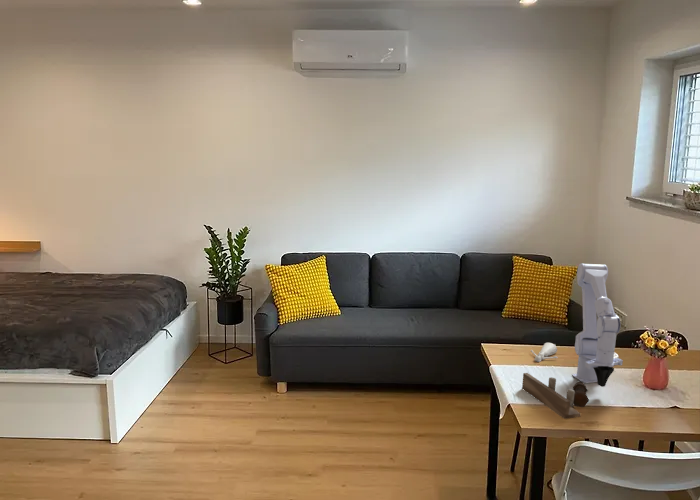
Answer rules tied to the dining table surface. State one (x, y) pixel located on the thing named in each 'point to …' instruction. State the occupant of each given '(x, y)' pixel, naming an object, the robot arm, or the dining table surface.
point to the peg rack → (551, 396)
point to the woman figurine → (546, 352)
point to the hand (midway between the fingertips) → (601, 385)
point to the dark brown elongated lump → (580, 394)
